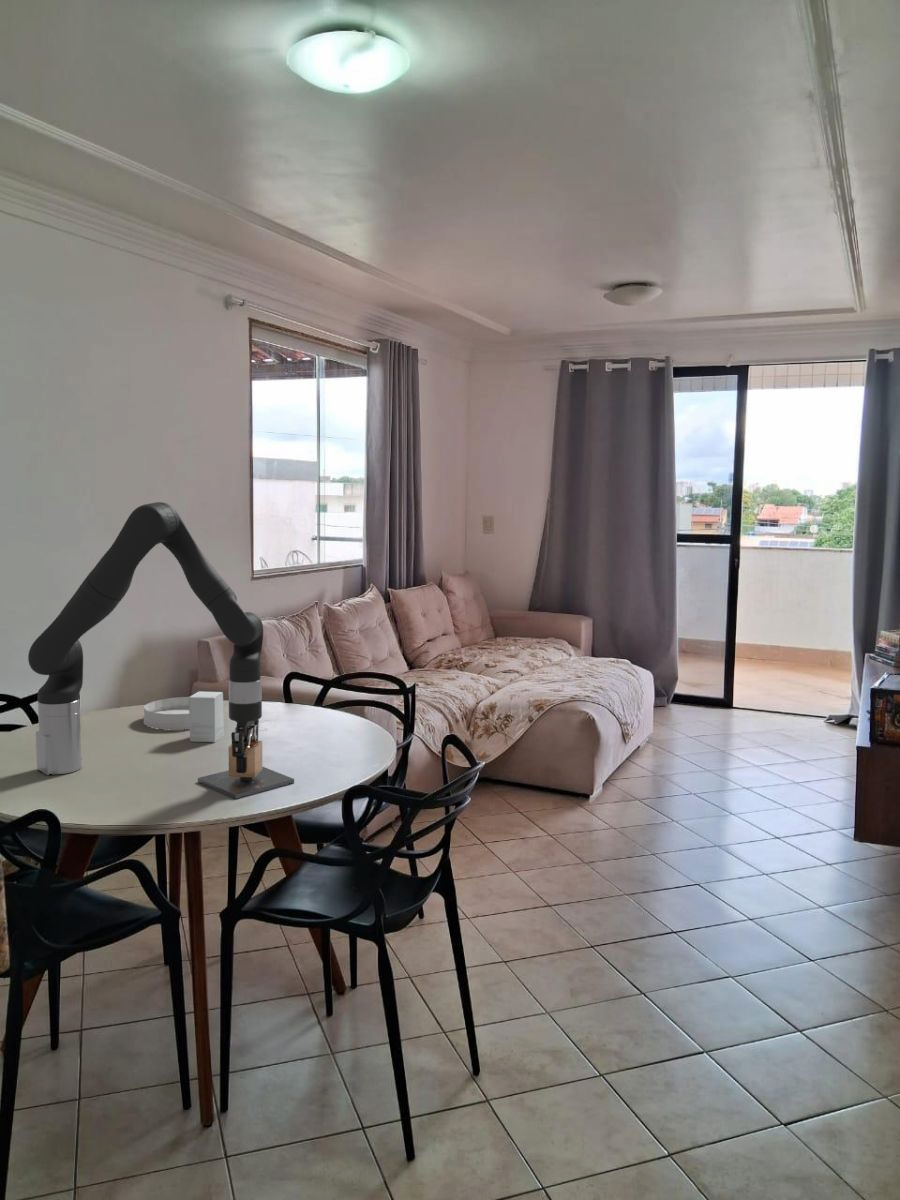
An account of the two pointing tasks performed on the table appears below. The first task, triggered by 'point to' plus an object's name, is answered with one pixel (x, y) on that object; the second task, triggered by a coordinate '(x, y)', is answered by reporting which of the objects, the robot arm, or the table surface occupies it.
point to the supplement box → (206, 716)
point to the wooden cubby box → (248, 761)
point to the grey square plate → (245, 782)
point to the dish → (168, 714)
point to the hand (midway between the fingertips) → (245, 768)
